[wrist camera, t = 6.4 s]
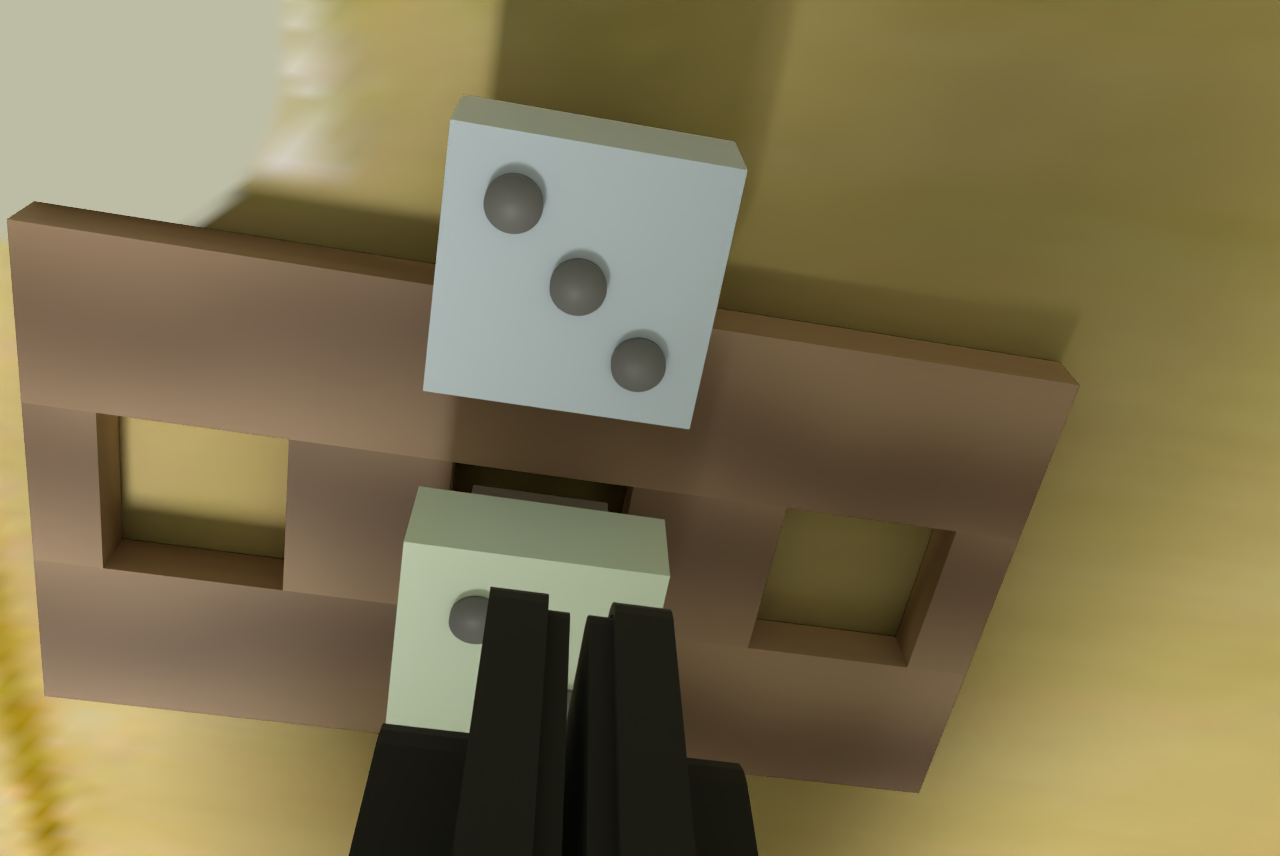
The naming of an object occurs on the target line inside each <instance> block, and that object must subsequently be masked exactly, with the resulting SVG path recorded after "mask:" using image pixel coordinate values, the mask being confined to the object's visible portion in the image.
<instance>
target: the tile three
mask: <svg viewBox="0 0 1280 856" xmlns="http://www.w3.org/2000/svg"><path fill="white" fill-rule="evenodd" d="M747 171H748V170H747V167H746V165H745V163H744V161H743V158H742V156H741V154H740V151H739V149H738V147H737V145H736V142H735V141H730V140H724V139H718V138H713V137H707V136H701V135H695V134H689V133H684V132H678V131H672V130H666V129H661V128H655V127H649V126H643V125H638V124H632V123H626V122H620V121H615V120H609V119H603V118H597V117H592V116H586V115H580V114H574V113H569V112H563V111H557V110H551V109H545V108H540V107H534V106H528V105H522V104H517V103H511V102H505V101H499V100H494V99H488V98H482V97H476V96H471V95H465V94H463V96H462V98H461V99H460V101H459V103H458V105H457V107H456V109H455V111H454V113H453V115H452V117H451V119H450V127H449V137H448V147H447V157H446V167H445V177H444V186H443V196H442V206H441V216H440V226H439V236H438V246H437V256H436V266H435V276H434V285H433V295H432V305H431V315H430V325H429V335H428V345H427V355H426V365H425V375H424V384H423V391H427V392H434V393H441V394H448V395H455V396H462V397H469V398H476V399H483V400H490V401H497V402H503V403H510V404H517V405H524V406H531V407H538V408H545V409H552V410H559V411H566V412H573V413H580V414H587V415H593V416H600V417H607V418H614V419H621V420H628V421H635V422H642V423H649V424H656V425H663V426H670V427H677V428H683V429H690V425H691V421H692V416H693V412H694V407H695V403H696V398H697V394H698V389H699V385H700V380H701V376H702V372H703V367H704V363H705V358H706V354H707V349H708V345H709V340H710V336H711V331H712V327H713V323H714V318H715V314H716V309H717V305H718V300H719V296H720V291H721V287H722V282H723V278H724V274H725V269H726V265H727V260H728V256H729V251H730V247H731V242H732V238H733V233H734V229H735V225H736V220H737V216H738V211H739V207H740V202H741V198H742V193H743V189H744V184H745V180H746V176H747Z"/></svg>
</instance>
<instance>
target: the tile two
mask: <svg viewBox="0 0 1280 856" xmlns="http://www.w3.org/2000/svg"><path fill="white" fill-rule="evenodd" d="M669 579H670V570H669V559H668V549H667V538H666V528H665V519H657V518H650V517H642V516H635V515H628V514H620V513H613V512H608V503H604V502H597V501H589V500H582V499H575V498H567V497H560V496H553V495H545V494H538V493H531V492H523V491H516V490H509V489H501V488H494V487H487V486H479V485H473V489H472V493H465V492H458V491H450V490H443V489H435V488H428V487H421V486H419V488H418V491H417V495H416V499H415V502H414V506H413V510H412V513H411V517H410V521H409V524H408V528H407V532H406V535H405V539H404V544H403V554H402V564H401V574H400V584H399V594H398V604H397V614H396V624H395V634H394V645H393V655H392V665H391V675H390V685H389V695H388V705H387V715H386V724H394V725H403V726H412V727H421V728H430V729H439V730H448V731H457V732H465V733H469V731H470V724H471V717H472V710H473V704H474V697H475V690H476V683H477V676H478V669H479V662H480V655H481V648H482V641H483V634H484V628H485V621H486V614H487V607H488V600H489V593H490V586H491V587H498V588H506V589H514V590H522V591H530V592H538V593H546V594H549V608H548V610H553V611H561V612H569V613H570V639H569V666H568V694H567V716H568V711H569V705H570V700H571V695H572V690H573V685H574V680H575V674H576V669H577V664H578V659H579V654H580V649H581V643H582V638H583V633H584V628H585V623H586V619H587V616H588V615H593V616H601V617H608V615H609V611H610V608H611V605H612V603H613V602H617V603H624V604H632V605H640V606H648V607H656V608H663V605H664V601H665V596H666V592H667V588H668V583H669Z"/></svg>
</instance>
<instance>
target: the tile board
mask: <svg viewBox="0 0 1280 856" xmlns="http://www.w3.org/2000/svg"><path fill="white" fill-rule="evenodd" d="M7 227H8V240H9V253H10V265H11V278H12V290H13V303H14V316H15V328H16V341H17V353H18V366H19V379H20V391H21V404H22V416H23V429H24V442H25V454H26V467H27V479H28V492H29V505H30V517H31V530H32V542H33V555H34V568H35V580H36V593H37V605H38V618H39V631H40V643H41V656H42V668H43V681H44V694H45V696H49V697H58V698H67V699H76V700H85V701H94V702H103V703H112V704H121V705H130V706H139V707H148V708H157V709H166V710H175V711H184V712H193V713H202V714H211V715H220V716H229V717H238V718H247V719H256V720H265V721H274V722H283V723H292V724H301V725H310V726H319V727H328V728H337V729H346V730H355V731H364V732H373V733H379V732H380V729H381V726H382V724H383V723H386V715H387V705H388V695H389V685H390V675H391V665H392V655H393V645H394V634H395V624H396V614H397V604H398V594H399V584H400V574H401V564H402V554H403V544H404V539H405V535H406V532H407V528H408V524H409V521H410V517H411V513H412V510H413V506H414V502H415V499H416V495H417V491H418V488H419V486H421V487H428V488H435V489H443V490H450V491H452V489H453V481H454V473H455V464H456V463H464V464H471V465H478V466H485V467H493V468H500V469H507V470H514V471H522V472H529V473H536V474H543V475H551V476H558V477H565V478H572V479H579V480H587V481H594V482H601V483H608V484H616V485H623V486H627V490H626V495H625V500H624V505H623V510H622V514H628V515H635V516H642V517H650V518H657V519H665V528H666V538H667V549H668V559H669V570H670V579H669V583H668V588H667V592H666V596H665V601H664V605H663V608H664V609H670V610H671V611H672V613H673V619H674V629H675V640H676V650H677V660H678V671H679V681H680V691H681V702H682V712H683V722H684V733H685V743H686V753H687V758H696V759H705V760H714V761H723V762H732V763H739V764H740V765H741V767H742V768H743V770H744V774H750V775H759V776H768V777H777V778H786V779H795V780H804V781H813V782H822V783H831V784H840V785H849V786H858V787H867V788H876V789H885V790H894V791H903V792H912V793H919V791H920V789H921V786H922V784H923V781H924V779H925V776H926V774H927V771H928V769H929V766H930V764H931V761H932V758H933V756H934V753H935V751H936V748H937V746H938V743H939V741H940V738H941V736H942V733H943V731H944V728H945V726H946V723H947V720H948V718H949V715H950V713H951V710H952V708H953V705H954V703H955V700H956V698H957V695H958V693H959V690H960V688H961V685H962V682H963V680H964V677H965V675H966V672H967V670H968V667H969V665H970V662H971V660H972V657H973V655H974V652H975V650H976V647H977V644H978V642H979V639H980V637H981V634H982V632H983V629H984V627H985V624H986V622H987V619H988V617H989V614H990V611H991V609H992V606H993V604H994V601H995V599H996V596H997V594H998V591H999V589H1000V586H1001V584H1002V581H1003V579H1004V576H1005V573H1006V571H1007V568H1008V566H1009V563H1010V561H1011V558H1012V556H1013V553H1014V551H1015V548H1016V546H1017V543H1018V541H1019V538H1020V535H1021V533H1022V530H1023V528H1024V525H1025V523H1026V520H1027V518H1028V515H1029V513H1030V510H1031V508H1032V505H1033V503H1034V500H1035V497H1036V495H1037V492H1038V490H1039V487H1040V485H1041V482H1042V480H1043V477H1044V475H1045V472H1046V470H1047V467H1048V465H1049V462H1050V459H1051V457H1052V454H1053V452H1054V449H1055V447H1056V444H1057V442H1058V439H1059V437H1060V434H1061V432H1062V429H1063V426H1064V424H1065V421H1066V419H1067V416H1068V414H1069V411H1070V409H1071V406H1072V404H1073V401H1074V399H1075V396H1076V394H1077V391H1078V388H1079V386H1080V385H1079V384H1078V383H1077V382H1076V380H1075V379H1074V378H1073V377H1072V376H1071V375H1070V373H1069V372H1068V371H1067V370H1066V369H1065V368H1064V367H1063V365H1062V364H1061V363H1060V362H1056V361H1049V360H1043V359H1036V358H1030V357H1024V356H1017V355H1011V354H1005V353H998V352H992V351H985V350H979V349H973V348H966V347H960V346H954V345H947V344H941V343H934V342H928V341H922V340H915V339H909V338H903V337H896V336H890V335H883V334H877V333H871V332H864V331H858V330H852V329H845V328H839V327H832V326H826V325H820V324H813V323H807V322H800V321H794V320H788V319H781V318H775V317H769V316H762V315H756V314H749V313H743V312H737V311H730V310H724V309H718V308H717V309H716V314H715V318H714V323H713V327H712V331H711V336H710V340H709V345H708V349H707V354H706V358H705V363H704V367H703V372H702V376H701V380H700V385H699V389H698V394H697V398H696V403H695V407H694V412H693V416H692V421H691V425H690V429H683V428H677V427H670V426H663V425H656V424H649V423H642V422H635V421H628V420H621V419H614V418H607V417H600V416H593V415H587V414H580V413H573V412H566V411H559V410H552V409H545V408H538V407H531V406H524V405H517V404H510V403H503V402H497V401H490V400H483V399H476V398H469V397H462V396H455V395H448V394H441V393H434V392H427V391H423V384H424V375H425V365H426V355H427V345H428V335H429V325H430V315H431V305H432V295H433V285H434V276H435V266H436V264H431V263H424V262H418V261H411V260H405V259H399V258H392V257H386V256H380V255H373V254H367V253H360V252H354V251H348V250H341V249H335V248H329V247H322V246H316V245H309V244H303V243H297V242H290V241H284V240H278V239H271V238H265V237H258V236H252V235H246V234H239V233H233V232H227V231H220V230H214V229H207V228H201V227H195V226H188V225H182V224H175V223H169V222H162V221H156V220H150V219H144V218H137V217H130V216H124V215H118V214H112V213H105V212H98V211H92V210H86V209H79V208H73V207H67V206H61V205H54V204H48V203H42V202H35V201H34V202H33V203H31V204H29V205H28V206H26V207H25V208H23V209H22V210H20V211H19V212H17V213H16V214H14V215H13V216H11V217H10V218H8V219H7ZM118 416H123V417H130V418H138V419H145V420H152V421H159V422H167V423H174V424H181V425H188V426H196V427H203V428H210V429H217V430H225V431H232V432H239V433H246V434H253V435H261V436H268V437H275V438H282V439H289V457H288V480H287V504H286V528H285V552H284V559H277V558H269V557H261V556H253V555H245V554H237V553H229V552H222V551H214V550H206V549H198V548H190V547H182V546H174V545H166V544H158V543H151V542H143V541H135V540H127V539H123V537H122V509H121V481H120V453H119V426H118ZM787 508H790V509H797V510H804V511H811V512H819V513H826V514H833V515H840V516H848V517H855V518H862V519H869V520H877V521H884V522H891V523H898V524H906V525H913V526H920V527H927V528H934V530H933V533H932V535H931V538H930V541H929V544H928V547H927V550H926V552H925V555H924V558H923V561H922V564H921V567H920V570H919V572H918V575H917V578H916V581H915V584H914V587H913V589H912V592H911V595H910V598H909V601H908V604H907V606H906V609H905V612H904V615H903V618H902V621H901V624H900V626H899V629H898V632H897V635H896V637H893V636H885V635H877V634H869V633H861V632H854V631H846V630H838V629H830V628H822V627H814V626H806V625H798V624H790V623H782V622H775V621H767V620H759V619H756V617H757V614H758V610H759V607H760V603H761V599H762V596H763V592H764V589H765V585H766V582H767V578H768V574H769V571H770V567H771V564H772V560H773V556H774V553H775V549H776V546H777V542H778V539H779V535H780V531H781V528H782V524H783V521H784V517H785V513H786V510H787Z"/></svg>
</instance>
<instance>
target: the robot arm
mask: <svg viewBox="0 0 1280 856" xmlns="http://www.w3.org/2000/svg"><path fill="white" fill-rule="evenodd" d="M548 608H549V594H546V593H538V592H530V591H522V590H514V589H506V588H498V587H491V586H490V593H489V600H488V607H487V614H486V621H485V628H484V634H483V641H482V648H481V655H480V662H479V669H478V676H477V683H476V690H475V697H474V704H473V710H472V717H471V724H470V731H469V733H465V732H457V731H448V730H439V729H430V728H421V727H412V726H403V725H394V724H386V723H383V724H382V726H381V729H380V732H379V736H378V739H377V743H376V747H375V751H374V755H373V759H372V763H371V767H370V771H369V775H368V779H367V783H366V788H365V792H364V796H363V800H362V804H361V808H360V812H359V816H358V820H357V824H356V828H355V832H354V836H353V840H352V844H351V849H350V853H349V856H758V851H757V844H756V838H755V832H754V825H753V819H752V813H751V806H750V800H749V794H748V787H747V782H746V778H745V774H744V770H743V768H742V767H741V765H740V764H739V763H732V762H723V761H714V760H705V759H696V758H687V753H686V743H685V733H684V722H683V712H682V702H681V691H680V681H679V671H678V660H677V650H676V640H675V629H674V619H673V613H672V611H671V610H670V609H664V608H656V607H648V606H640V605H632V604H624V603H617V602H613V603H612V605H611V608H610V611H609V615H608V617H601V616H593V615H588V616H587V619H586V623H585V628H584V633H583V638H582V643H581V649H580V654H579V659H578V664H577V669H576V674H575V680H574V685H573V690H572V695H571V700H570V705H569V711H568V716H567V694H568V666H569V639H570V613H569V612H561V611H553V610H548Z"/></svg>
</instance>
